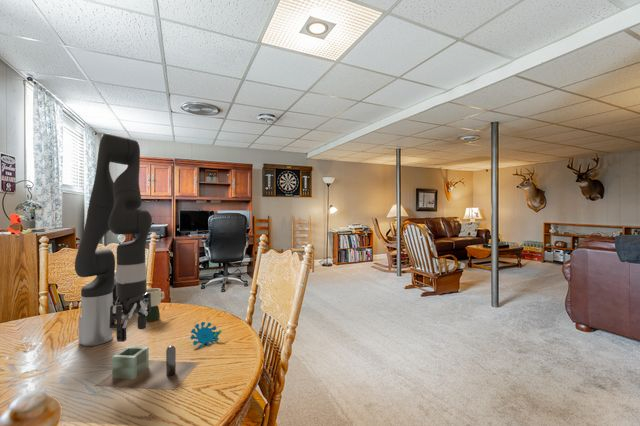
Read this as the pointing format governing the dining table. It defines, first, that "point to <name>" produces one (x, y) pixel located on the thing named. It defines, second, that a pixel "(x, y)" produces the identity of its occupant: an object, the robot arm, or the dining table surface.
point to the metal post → (170, 361)
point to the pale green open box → (130, 362)
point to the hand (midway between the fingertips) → (132, 334)
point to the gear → (205, 334)
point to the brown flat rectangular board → (153, 377)
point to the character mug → (154, 303)
